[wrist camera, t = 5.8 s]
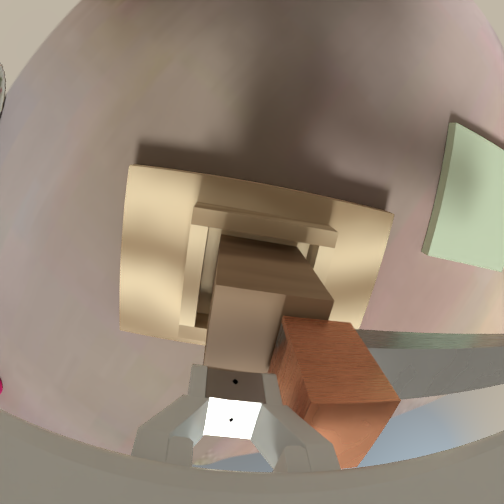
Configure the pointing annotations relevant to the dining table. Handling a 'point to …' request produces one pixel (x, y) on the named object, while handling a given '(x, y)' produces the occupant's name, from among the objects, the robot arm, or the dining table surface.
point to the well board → (240, 225)
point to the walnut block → (258, 301)
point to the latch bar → (373, 375)
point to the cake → (2, 87)
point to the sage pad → (469, 202)
